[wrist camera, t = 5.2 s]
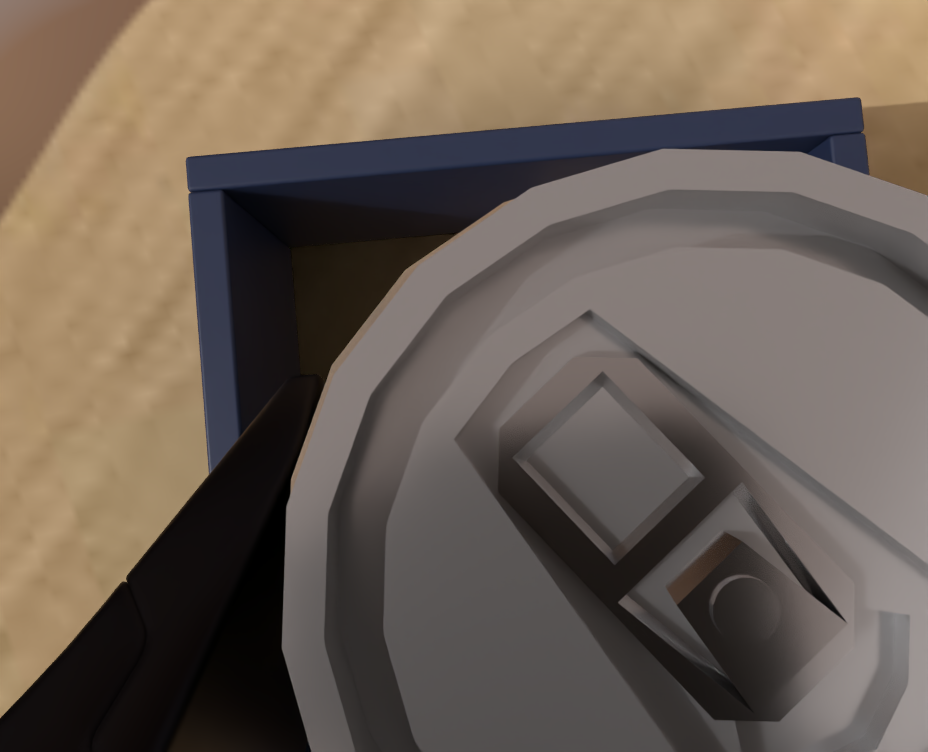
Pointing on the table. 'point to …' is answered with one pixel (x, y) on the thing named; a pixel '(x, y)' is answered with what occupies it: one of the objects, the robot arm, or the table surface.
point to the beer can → (629, 475)
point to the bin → (412, 214)
